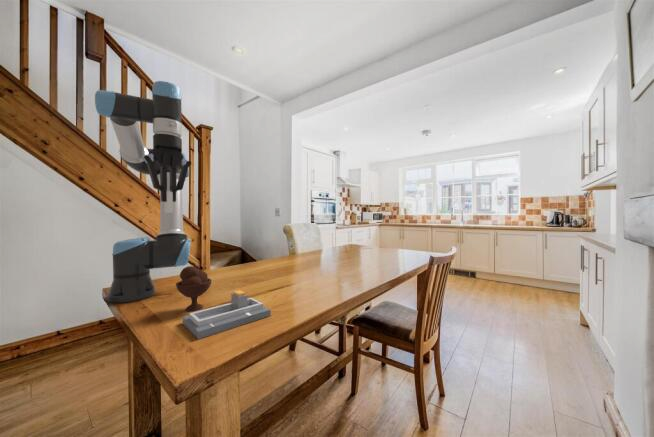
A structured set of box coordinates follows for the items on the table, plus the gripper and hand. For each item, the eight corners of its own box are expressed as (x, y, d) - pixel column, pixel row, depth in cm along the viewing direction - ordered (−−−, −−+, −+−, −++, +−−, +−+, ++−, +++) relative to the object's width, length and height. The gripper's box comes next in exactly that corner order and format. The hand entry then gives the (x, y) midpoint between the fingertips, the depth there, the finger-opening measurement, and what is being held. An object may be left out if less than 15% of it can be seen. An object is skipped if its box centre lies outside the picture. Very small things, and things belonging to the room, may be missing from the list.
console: (182, 323, 77) (182, 311, 77) (249, 304, 92) (249, 295, 92) (198, 339, 67) (198, 326, 67) (270, 315, 82) (270, 304, 82)
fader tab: (231, 309, 83) (231, 291, 83) (240, 306, 85) (240, 289, 85) (238, 313, 79) (238, 294, 79) (247, 310, 81) (247, 292, 81)
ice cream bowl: (197, 315, 82) (197, 269, 82) (168, 313, 85) (167, 268, 84) (218, 304, 93) (217, 263, 93) (191, 302, 95) (191, 262, 95)
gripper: (145, 128, 71) (146, 212, 72) (194, 138, 80) (195, 212, 81) (139, 133, 76) (140, 212, 77) (186, 142, 85) (187, 212, 86)
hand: (168, 212), depth 79 cm, fingers closed
